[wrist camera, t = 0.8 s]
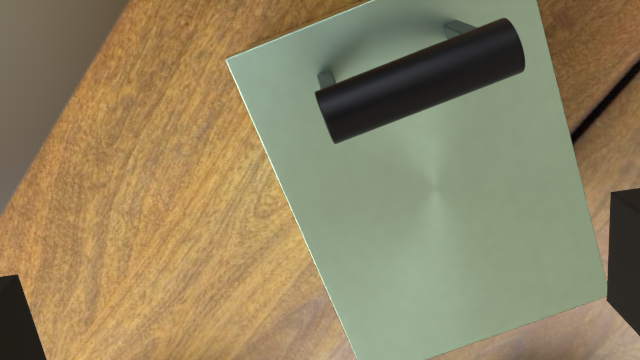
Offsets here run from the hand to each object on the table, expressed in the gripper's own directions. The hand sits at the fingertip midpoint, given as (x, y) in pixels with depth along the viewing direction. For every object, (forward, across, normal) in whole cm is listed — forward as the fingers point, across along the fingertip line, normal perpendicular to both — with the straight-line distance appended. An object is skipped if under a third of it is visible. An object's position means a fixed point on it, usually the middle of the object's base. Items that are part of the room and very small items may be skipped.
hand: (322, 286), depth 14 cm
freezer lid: (+16, +6, -4) cm, 18 cm away
